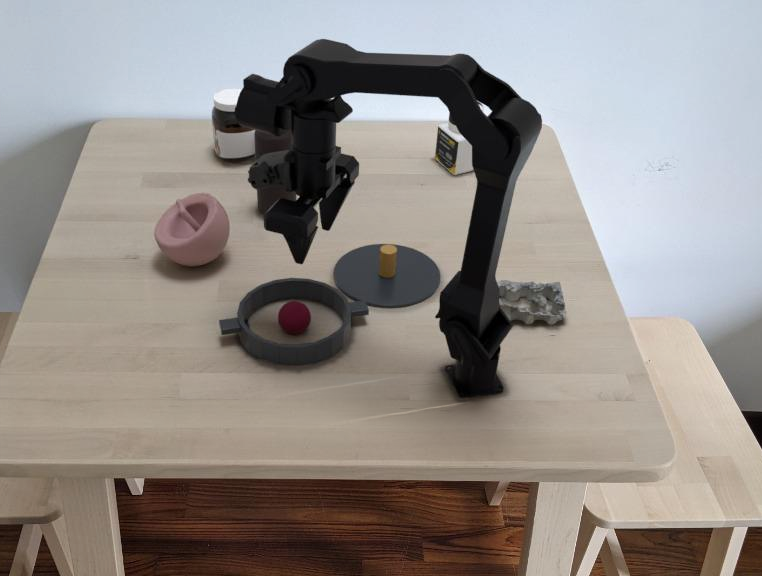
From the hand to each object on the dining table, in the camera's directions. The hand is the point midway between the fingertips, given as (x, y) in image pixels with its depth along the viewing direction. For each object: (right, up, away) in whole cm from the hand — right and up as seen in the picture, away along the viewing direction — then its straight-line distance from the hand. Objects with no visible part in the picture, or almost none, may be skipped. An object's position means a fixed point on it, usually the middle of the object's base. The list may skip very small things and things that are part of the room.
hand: (312, 246), depth 127 cm
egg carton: (+32, -9, +10) cm, 35 cm away
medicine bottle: (+28, +22, +45) cm, 57 cm away
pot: (-3, -12, +7) cm, 14 cm away
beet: (-3, -11, +7) cm, 14 cm away
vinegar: (-6, +11, +32) cm, 35 cm away
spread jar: (-12, +24, +47) cm, 55 cm away
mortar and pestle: (-19, +1, +21) cm, 29 cm away
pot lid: (+12, -2, +17) cm, 20 cm away
